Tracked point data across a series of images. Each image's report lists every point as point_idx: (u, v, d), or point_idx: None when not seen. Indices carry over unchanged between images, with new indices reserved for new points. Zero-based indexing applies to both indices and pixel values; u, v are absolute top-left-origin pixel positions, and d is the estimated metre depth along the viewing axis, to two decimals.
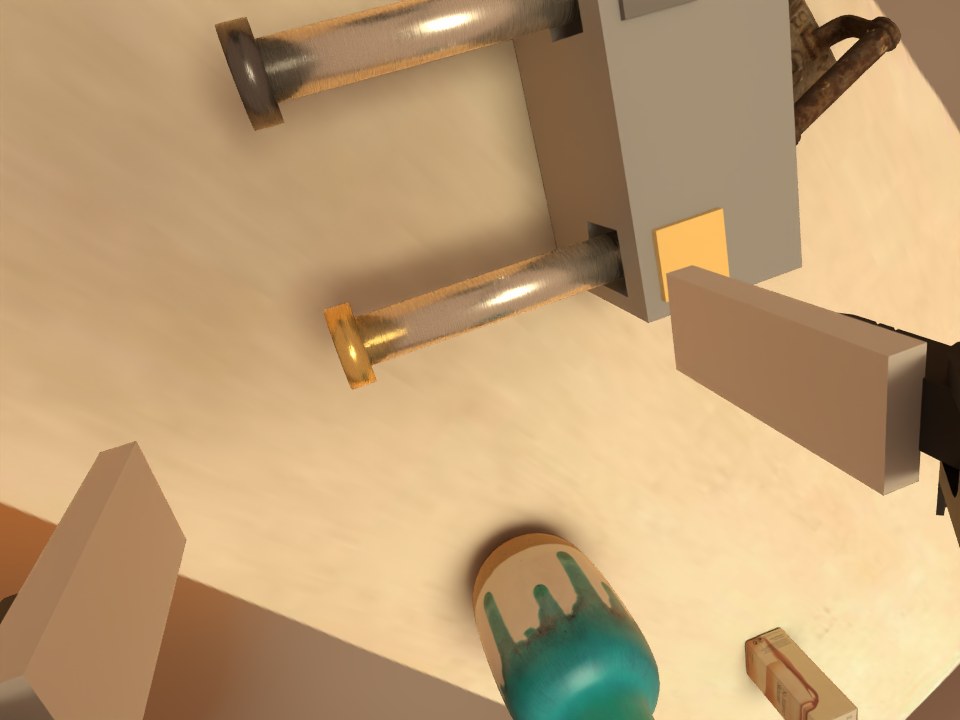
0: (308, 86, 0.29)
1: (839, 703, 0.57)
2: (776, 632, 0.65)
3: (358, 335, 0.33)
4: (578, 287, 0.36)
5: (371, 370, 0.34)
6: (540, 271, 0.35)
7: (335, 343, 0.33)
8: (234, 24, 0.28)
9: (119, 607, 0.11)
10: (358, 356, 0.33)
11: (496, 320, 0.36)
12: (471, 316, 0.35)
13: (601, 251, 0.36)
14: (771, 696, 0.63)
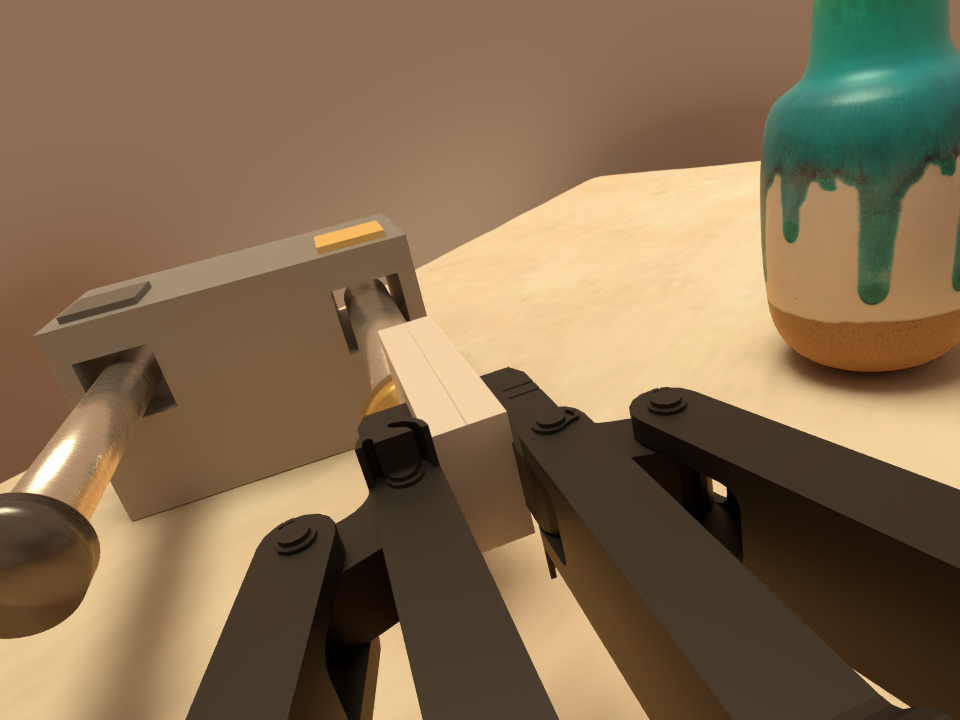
0: (60, 495, 0.23)
1: None
2: None
3: (380, 383, 0.23)
4: (386, 302, 0.35)
5: None
6: (361, 323, 0.33)
7: (384, 397, 0.22)
8: None
9: None
10: None
11: None
12: None
13: (355, 303, 0.36)
14: None
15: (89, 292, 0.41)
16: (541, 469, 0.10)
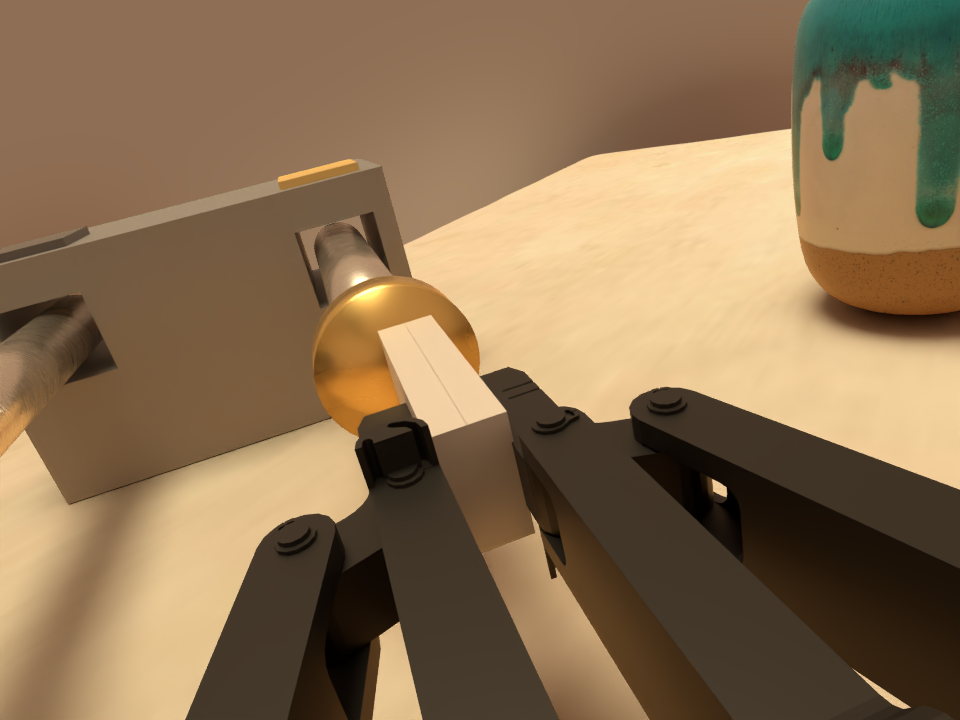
0: None
1: None
2: None
3: (336, 299, 0.18)
4: (358, 241, 0.30)
5: (405, 277, 0.18)
6: (328, 260, 0.28)
7: (339, 311, 0.17)
8: None
9: None
10: (368, 283, 0.17)
11: (383, 266, 0.25)
12: (361, 267, 0.24)
13: (323, 246, 0.31)
14: None
15: None
16: (541, 469, 0.10)
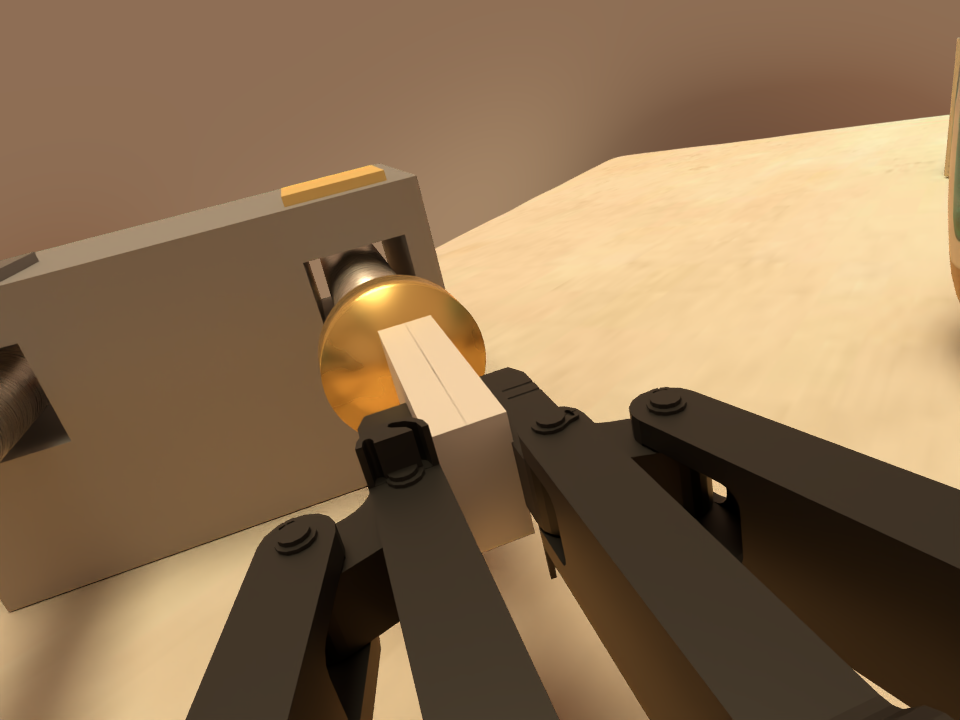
0: None
1: None
2: None
3: (342, 297, 0.18)
4: None
5: (411, 276, 0.18)
6: (332, 259, 0.28)
7: (346, 310, 0.17)
8: None
9: None
10: (375, 282, 0.18)
11: (387, 265, 0.25)
12: (366, 266, 0.24)
13: None
14: None
15: None
16: (541, 469, 0.10)
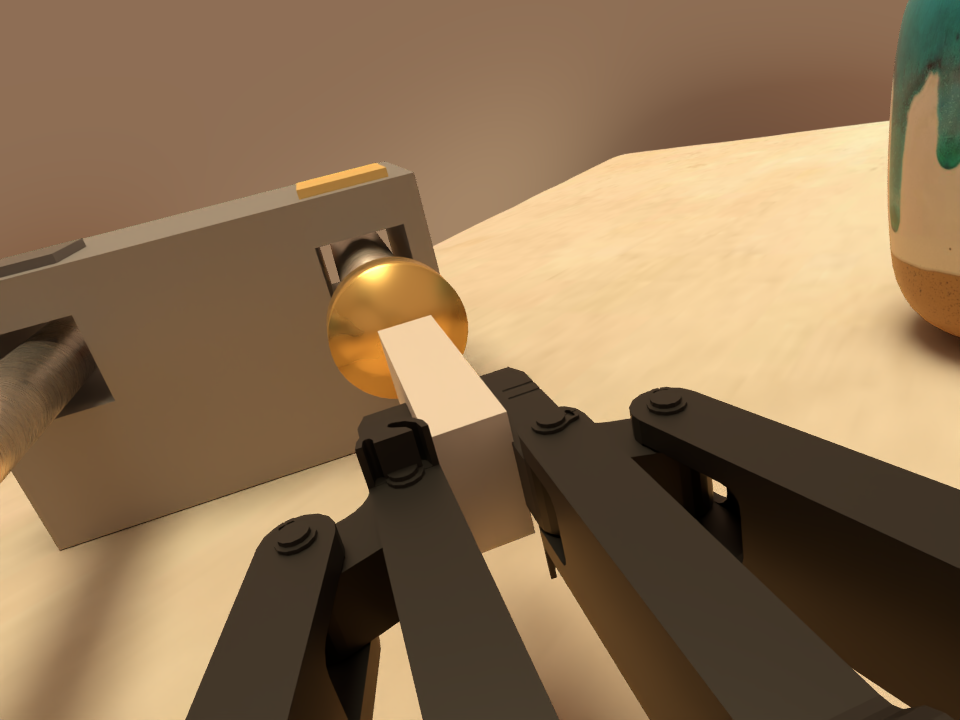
0: None
1: None
2: None
3: (347, 275, 0.21)
4: None
5: (405, 258, 0.21)
6: (341, 247, 0.31)
7: (350, 285, 0.20)
8: None
9: None
10: (374, 262, 0.21)
11: (389, 252, 0.29)
12: (370, 252, 0.27)
13: None
14: None
15: None
16: (541, 470, 0.10)
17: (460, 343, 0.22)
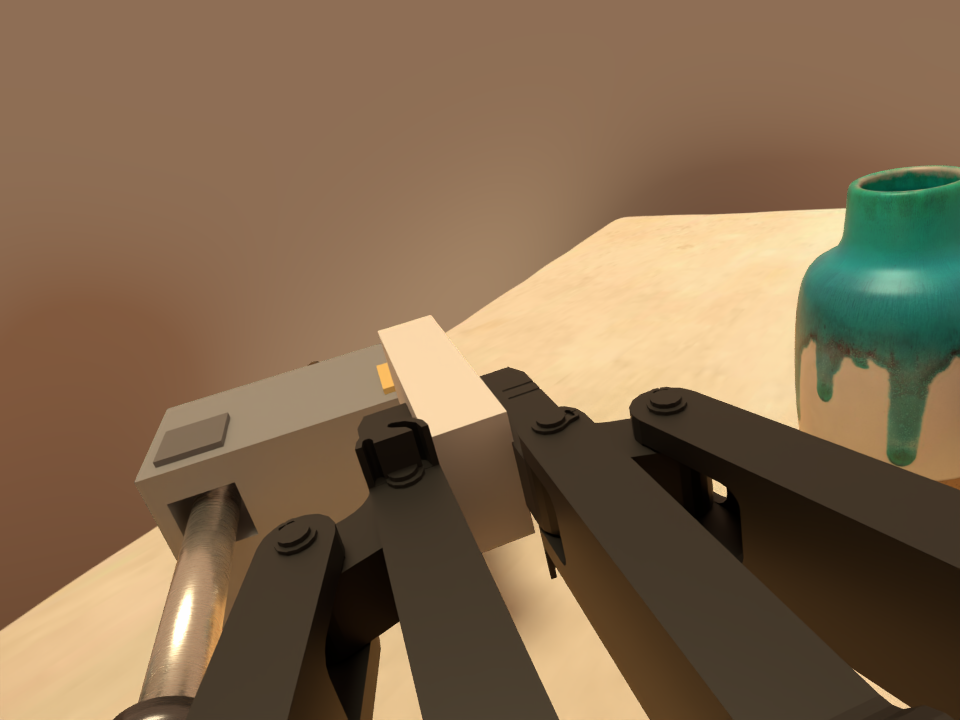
0: (192, 682, 0.26)
1: None
2: None
3: None
4: None
5: None
6: None
7: None
8: None
9: None
10: None
11: None
12: None
13: None
14: None
15: (169, 413, 0.45)
16: (541, 469, 0.10)
17: None
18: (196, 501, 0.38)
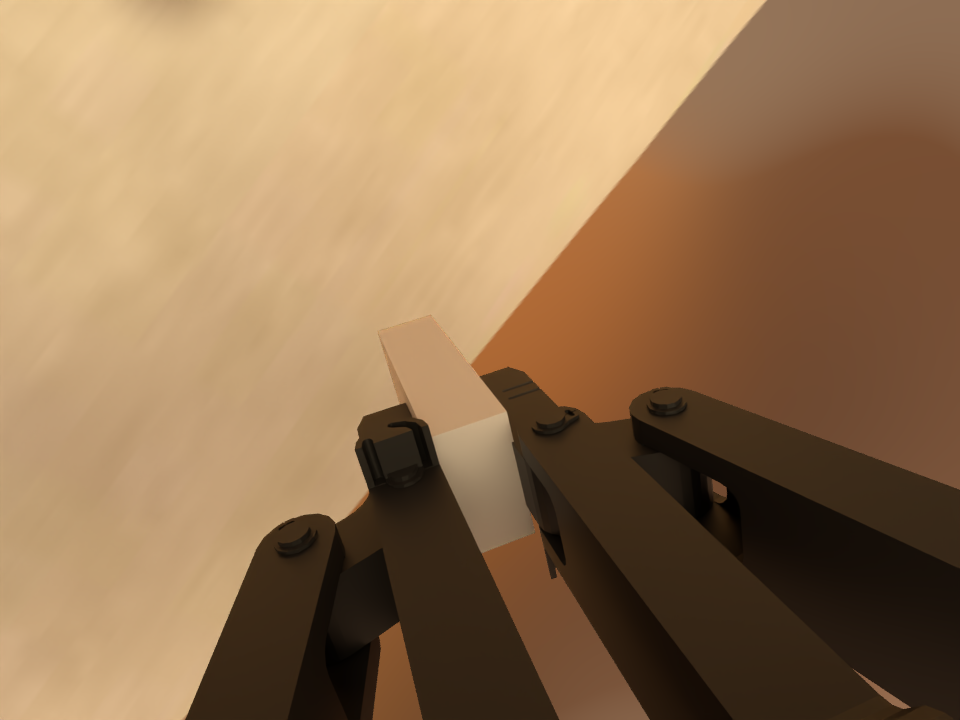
0: None
1: None
2: None
3: None
4: None
5: None
6: None
7: None
8: None
9: None
10: None
11: None
12: None
13: None
14: None
15: None
16: (541, 470, 0.10)
17: None
18: None
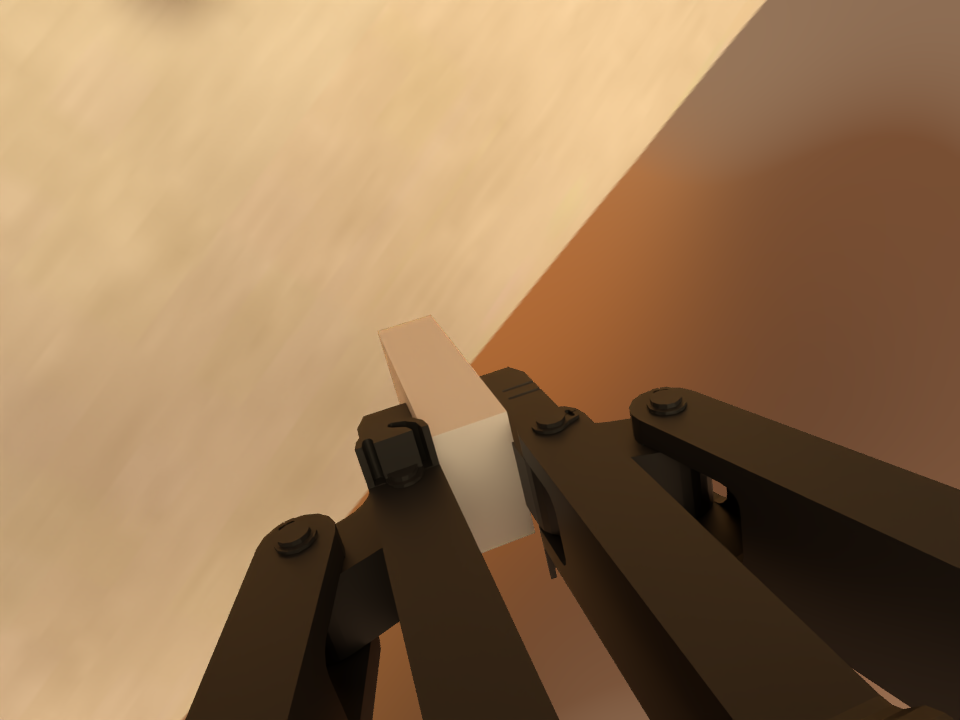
0: None
1: None
2: None
3: None
4: None
5: None
6: None
7: None
8: None
9: None
10: None
11: None
12: None
13: None
14: None
15: None
16: (541, 469, 0.10)
17: None
18: None
